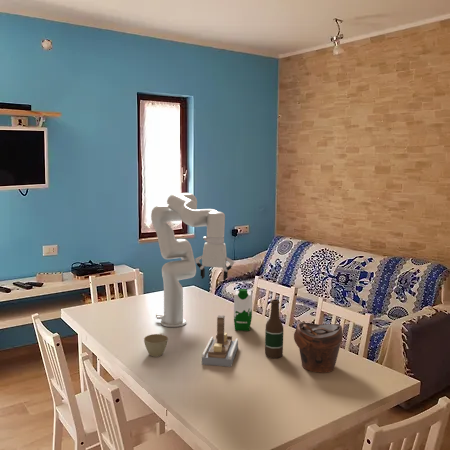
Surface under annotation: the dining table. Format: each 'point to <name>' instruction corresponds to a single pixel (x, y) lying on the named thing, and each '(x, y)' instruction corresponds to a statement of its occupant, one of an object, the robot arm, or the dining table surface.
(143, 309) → the dining table surface
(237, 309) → the milk carton
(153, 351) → the flower pot
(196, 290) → the dining table surface
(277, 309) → the beer bottle
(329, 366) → the brown lidded bucket
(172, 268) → the robot arm
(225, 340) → the block
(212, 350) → the brown base with upright
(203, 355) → the tray
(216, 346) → the crate
